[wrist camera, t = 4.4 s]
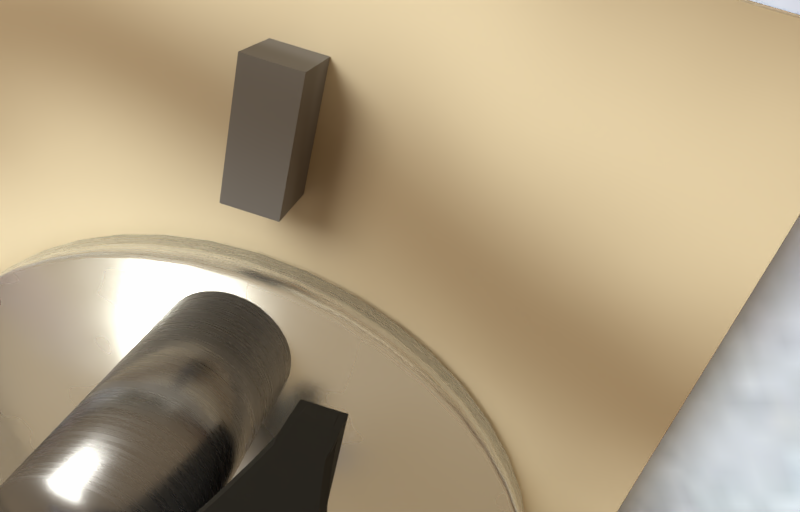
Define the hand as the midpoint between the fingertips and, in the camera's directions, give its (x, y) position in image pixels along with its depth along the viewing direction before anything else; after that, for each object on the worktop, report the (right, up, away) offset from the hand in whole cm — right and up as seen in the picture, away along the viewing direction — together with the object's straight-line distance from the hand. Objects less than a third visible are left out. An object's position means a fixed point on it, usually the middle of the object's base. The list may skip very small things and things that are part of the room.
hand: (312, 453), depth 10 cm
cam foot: (-3, -3, +5) cm, 7 cm away
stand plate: (-3, -2, +7) cm, 7 cm away
